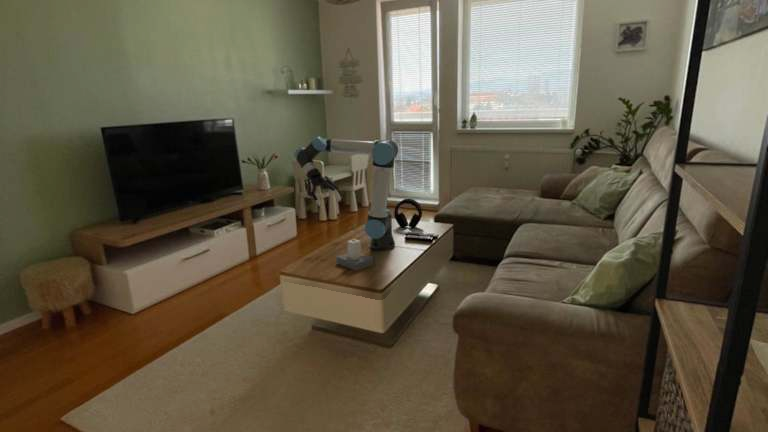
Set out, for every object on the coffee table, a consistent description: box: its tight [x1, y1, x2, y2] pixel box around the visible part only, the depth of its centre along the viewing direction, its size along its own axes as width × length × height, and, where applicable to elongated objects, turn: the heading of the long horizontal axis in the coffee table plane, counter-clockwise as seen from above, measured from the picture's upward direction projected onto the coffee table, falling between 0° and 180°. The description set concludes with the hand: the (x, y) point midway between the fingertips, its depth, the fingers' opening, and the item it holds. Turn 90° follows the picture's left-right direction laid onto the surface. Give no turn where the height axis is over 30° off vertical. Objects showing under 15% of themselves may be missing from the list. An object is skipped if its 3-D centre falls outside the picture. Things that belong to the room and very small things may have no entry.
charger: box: [346, 238, 362, 261], centre depth 228 cm, size 5×5×12 cm
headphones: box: [393, 198, 423, 229], centre depth 293 cm, size 19×7×20 cm, turn 73°
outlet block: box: [336, 252, 374, 272], centre depth 230 cm, size 16×12×4 cm
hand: (330, 202), depth 231 cm, fingers open, 13 cm apart
